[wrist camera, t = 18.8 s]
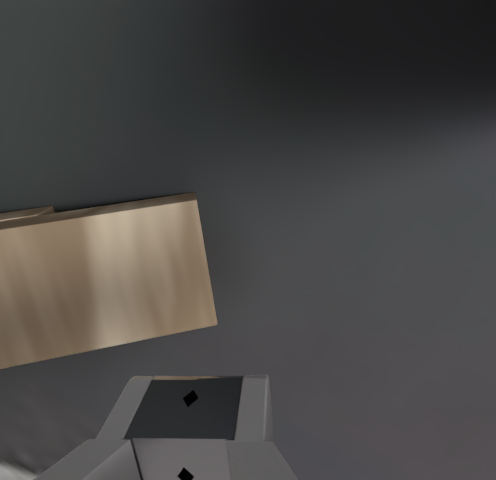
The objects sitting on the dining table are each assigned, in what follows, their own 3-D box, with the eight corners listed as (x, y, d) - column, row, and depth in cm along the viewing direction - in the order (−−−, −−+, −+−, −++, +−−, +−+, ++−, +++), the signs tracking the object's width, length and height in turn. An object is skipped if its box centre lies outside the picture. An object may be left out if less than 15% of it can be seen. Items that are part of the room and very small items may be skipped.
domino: (213, 305, 18) (9, 344, 17) (194, 192, 17) (-37, 227, 15) (217, 324, 17) (-13, 371, 15) (196, 199, 15) (-68, 240, 13)
